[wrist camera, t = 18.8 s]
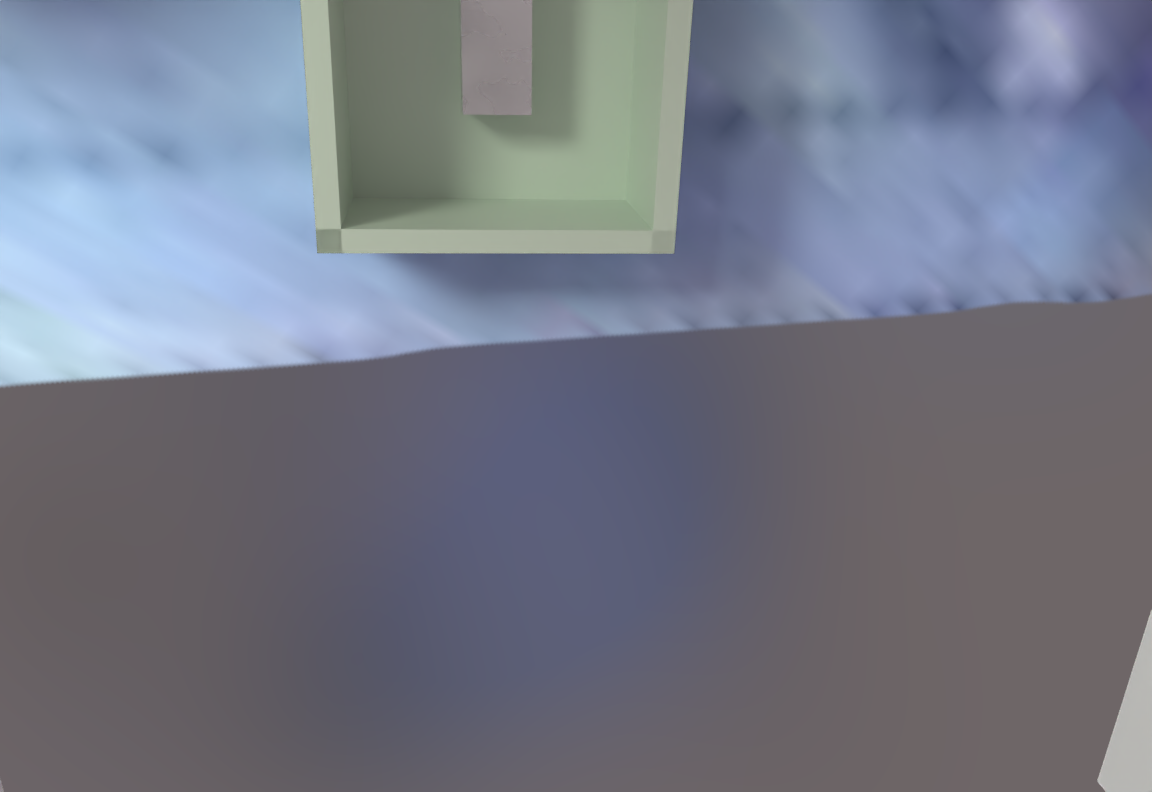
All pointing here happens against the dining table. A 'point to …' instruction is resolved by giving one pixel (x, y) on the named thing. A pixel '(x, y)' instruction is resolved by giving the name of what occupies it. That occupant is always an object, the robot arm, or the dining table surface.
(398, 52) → the bin
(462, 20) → the strut
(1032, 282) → the dining table surface
